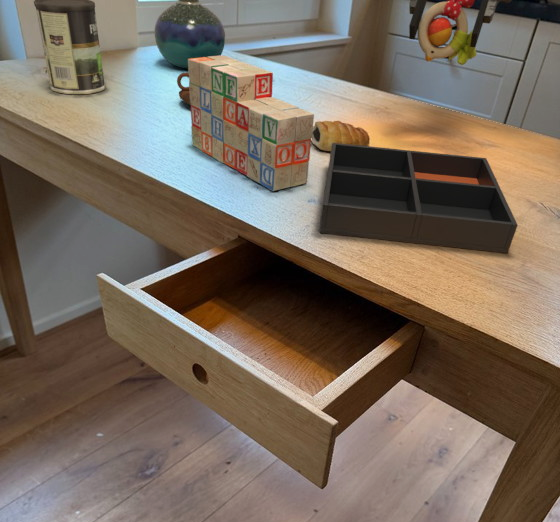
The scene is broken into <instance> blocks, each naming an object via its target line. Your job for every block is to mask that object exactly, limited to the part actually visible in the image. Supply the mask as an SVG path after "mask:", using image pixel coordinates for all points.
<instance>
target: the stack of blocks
mask: <svg viewBox="0 0 560 522" xmlns="http://www.w3.org/2000/svg"><path fill="white" fill-rule="evenodd" d="M187 70H188V73H189V78H188V87H189V92H190V103H191V105H190V117H191V119H190V120H191V127H190V128H191V143H192V146H193V147H195V148H196V149H198V150H199V151H202V152H203V153H205V154H206V155H208V156H210V157H212V158H214V159H215V160H217V161H219V162H220V163H223V164H224V165H226V166H229V167H230V168H232V169H234V170H236V171H237V172H239V173H241V174H243V175H245V176H246V177H248V178H250V179H251V180H252V181H254V182H257V183H258V184H259V185H261V186H263V187H265V188H266V189H268V190H270V191H272V192H276V191H279V190H283V189H288V188H292V187H296V186H300V185H303V184H307V183H308V176H309V165H310V163H309V162H310V156H311V145H312V144H311V143H312V132H313V127H314V120H315V114H314V113H313V112H311V111H308V110H305V109H303V108H300V107H298V106H296V105H294V104H292V103H290V102H287V101H284V100H282V99H280V98H277V97H274V96H273V81H274V80H273V79H274V73H273V72H272V71H270V70H266V69H264V68H261V67H258V66H257V65H253V64H251V63H250V64H249V63H247V62H243V61H242V60H238V59H235V58H233V57H230V56H228V55H223V54H221V56H208V57H200V58H191V59H188V69H187Z"/></svg>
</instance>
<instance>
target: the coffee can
mask: <svg viewBox="0 0 560 522" xmlns="http://www.w3.org/2000/svg"><path fill="white" fill-rule="evenodd" d="M33 5H34V7H35V11H36V18H37V23H38V27H39V32H40V38H41V43H42V49H43V53H44V57H45V58H44V59H45V64H46V70H47V75H48V79H49V88H50V90H51V91H52V92H55V93H58V94H59V93H60V94H65V95H91V94H96V93H100V92H102V91H104V90H105V89H106V84H105V77H104V71H103V70H104V69H103V62H102V54H101V53H102V52H101V46H100V39H99V31H98V30H99V29H98V22H97V16H96V3H95V1H93V0H33Z"/></svg>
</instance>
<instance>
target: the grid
mask: <svg viewBox="0 0 560 522" xmlns="http://www.w3.org/2000/svg"><path fill="white" fill-rule="evenodd" d="M327 169H328V170H327V175H326V181H325V188H324V195H323V201H322V209H321V217H320V226H319V234H326V235H336V236H346V237H354V238H362V239H371V240H373V239H374V240H383V241H391V242H392V241H393V242H402V243H410V244H419V245H426V246H427V245H428V246H438V247H447V248H455V249H456V248H457V249H464V250H474V251H483V252H492V253H502V254H508V253H509V250H510V248H511V245H512V242H513V239H514V237H515V234H516V230H517V229H518V223H517V221H516V219H515V217H514V214H513V211H512V209H511V208H510V206H509V203H508V200H507V199H506V197H505V195H504V192H503V191H502V188H501V187H500V184H499V183H498V180H497V177H496V176H495V173H494V172H493V170H492V168H491V165H490V163H489V161H488V159H487V158H486V157H478V156H469V155H458V154H450V153H440V152H439V153H437V152H430V151H429V152H428V151H419V150H410V149H400V148H399V149H398V148H389V147H379V146H370V145H368V146H360V145H350V144H340V143H332V147H331V151H330V153H329V161H328V168H327Z"/></svg>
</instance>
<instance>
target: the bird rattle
mask: <svg viewBox="0 0 560 522" xmlns="http://www.w3.org/2000/svg"><path fill="white" fill-rule="evenodd" d="M475 2H476V0H444V1H440V2H436V3H434V4H433V5H432V6H430V7H429V8H428V9H427V10H426V11H424V12H423V15H422V18H421V20H420V23H419V26H418V30H417V40H418V44H419V47H420V49H421V51H422V52H423V53H424V58H425V61H426V62H431V61H432V60H433V61H434V60H435V59H439V60H440V59H445V58H448V60H449V61H452V60H453V59H454V58H456V57H457V60H456V61H457V64H458V65H460V66H464V65H466V64H467V62H468V60H472V59H473V58H475V57H476V56H477V50H476V47H470V44H471V36H472V31H473V29H472V30H470V32H469V33H468V31H469V21H468V17H467V14H466V12H465V10H464V9H463V8H466V9H469V8H471V7H473V5H474V4H475ZM438 16H440V17H438ZM449 19H451V20H452V21H454V22H455V24H452V23H451V21H450V20H449ZM453 27H456V30H455V31H454V33H453ZM452 33H453V36H452ZM451 37H452V38H451ZM448 42H449V43H448ZM447 43H448V44H447ZM446 44H447V45H446ZM444 45H445V46H444Z"/></svg>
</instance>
